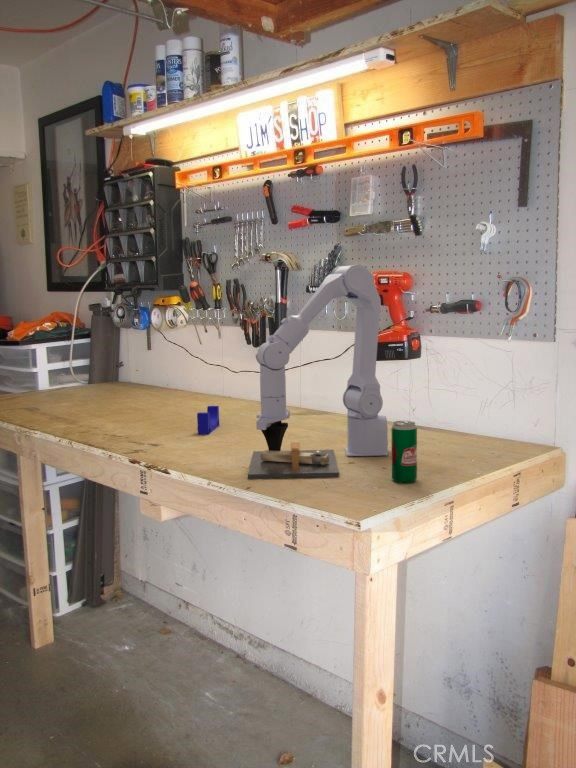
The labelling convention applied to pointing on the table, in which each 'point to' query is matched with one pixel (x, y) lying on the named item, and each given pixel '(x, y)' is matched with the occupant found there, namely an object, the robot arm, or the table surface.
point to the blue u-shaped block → (208, 420)
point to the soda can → (404, 451)
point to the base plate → (292, 466)
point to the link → (287, 457)
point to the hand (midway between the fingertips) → (274, 454)
